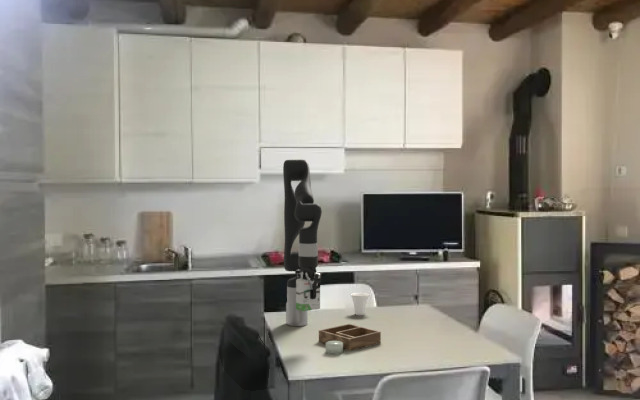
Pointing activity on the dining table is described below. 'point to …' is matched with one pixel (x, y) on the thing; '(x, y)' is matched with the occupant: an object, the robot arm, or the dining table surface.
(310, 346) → the dining table surface
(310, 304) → the ink box
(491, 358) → the dining table surface
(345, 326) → the organizer
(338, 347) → the white domed round part
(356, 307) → the cup
